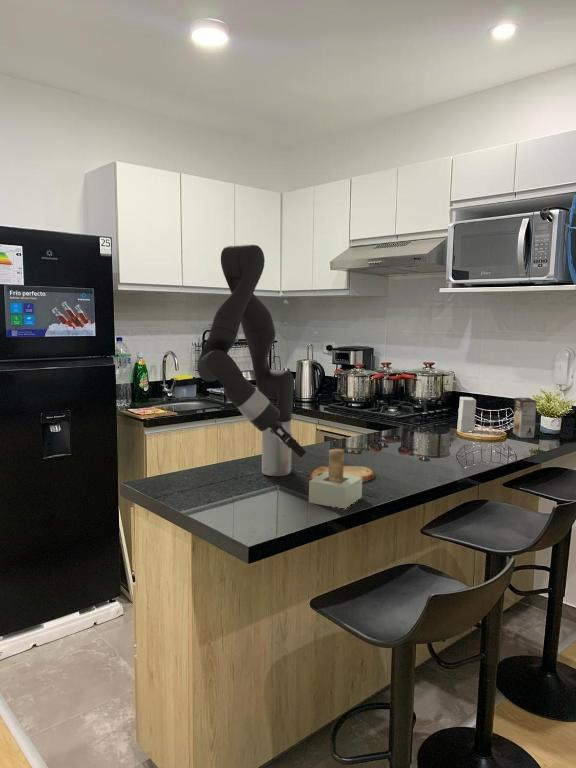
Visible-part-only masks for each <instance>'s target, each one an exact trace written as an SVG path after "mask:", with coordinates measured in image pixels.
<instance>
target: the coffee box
mask: <svg viewBox="0 0 576 768" xmlns="http://www.w3.org/2000/svg"><path fill="white" fill-rule="evenodd" d="M536 414H537V400H534V399H533V398H530V397H515V398H514V409H513V426H512V434H514V435H515V436H517V437H518V438H526V439H527V438H529V439H530V438H531V439H532V438H533V439H534V437H535V426H536Z"/></svg>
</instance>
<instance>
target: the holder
mask: <svg viewBox="0 0 576 768" xmlns="http://www.w3.org/2000/svg"><path fill="white" fill-rule="evenodd" d="M328 479H329V472H325V473H323V474H321V475H319V476H318V477H316V478H314V479H312V480H310V479H309V481H308V503H309V504H315V505H321V506H324V507H330V506H331V508H335V507H338V508H337V509H340V508H345V509H346V508H347V507H349V506H350V505H351V504H353V503H354V502H356V501H357V500H358V499H360V498H361V497H363V482H362V477H356V476H350V475H344V474H343V483H336V482H331V481H328ZM361 499H362V498H361ZM361 499H360V500H361ZM357 502H358V501H357ZM357 502H356V503H357ZM354 504H355V503H354ZM354 504H353V505H354ZM350 507H351V506H350ZM350 507H349V508H350ZM345 509H344V510H345ZM347 509H348V508H347ZM347 509H346V510H347Z"/></svg>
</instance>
